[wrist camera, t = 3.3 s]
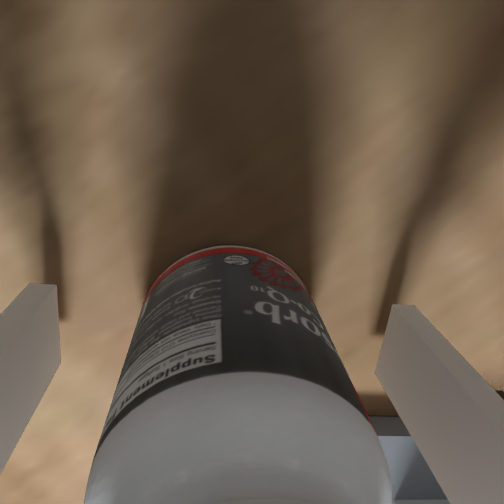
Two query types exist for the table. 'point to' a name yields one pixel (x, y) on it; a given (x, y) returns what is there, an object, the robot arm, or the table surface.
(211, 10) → the table surface
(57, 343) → the robot arm
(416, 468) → the socket
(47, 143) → the table surface
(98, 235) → the table surface
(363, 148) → the table surface
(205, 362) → the pill bottle
